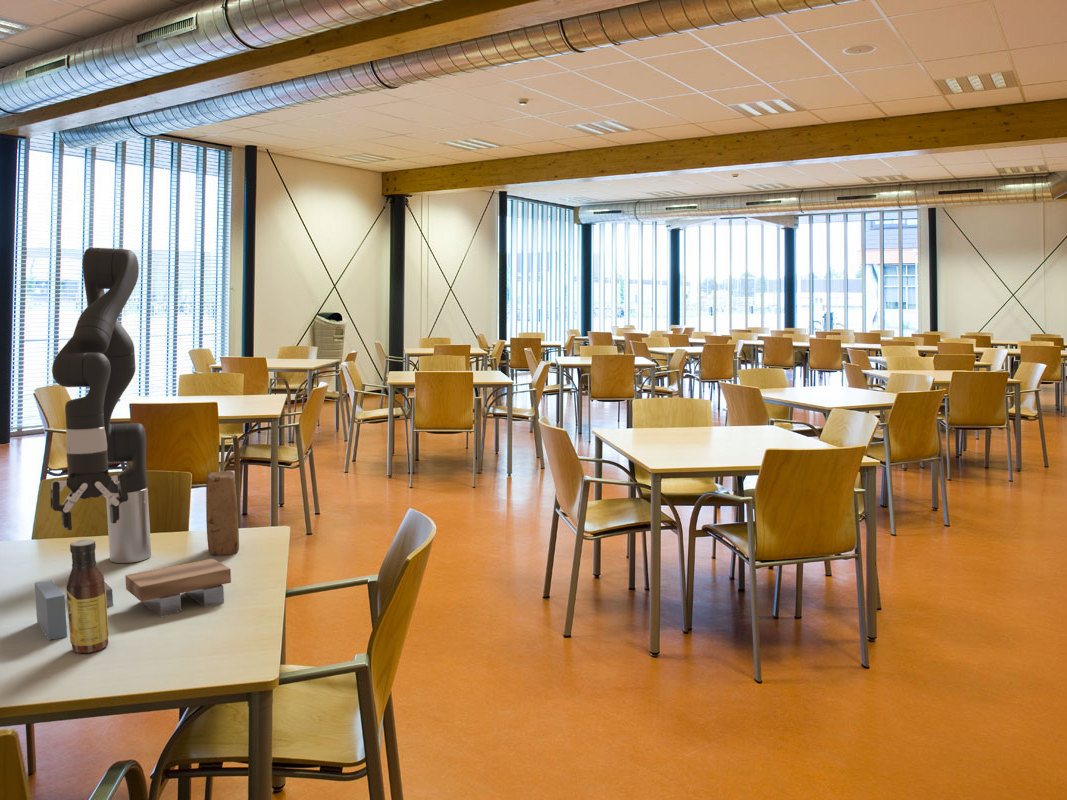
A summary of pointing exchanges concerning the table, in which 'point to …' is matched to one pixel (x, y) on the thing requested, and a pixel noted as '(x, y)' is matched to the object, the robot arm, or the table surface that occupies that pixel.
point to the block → (221, 513)
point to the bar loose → (108, 595)
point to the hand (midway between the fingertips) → (91, 526)
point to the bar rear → (208, 595)
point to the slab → (177, 579)
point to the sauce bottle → (86, 600)
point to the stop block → (51, 609)
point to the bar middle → (165, 605)
